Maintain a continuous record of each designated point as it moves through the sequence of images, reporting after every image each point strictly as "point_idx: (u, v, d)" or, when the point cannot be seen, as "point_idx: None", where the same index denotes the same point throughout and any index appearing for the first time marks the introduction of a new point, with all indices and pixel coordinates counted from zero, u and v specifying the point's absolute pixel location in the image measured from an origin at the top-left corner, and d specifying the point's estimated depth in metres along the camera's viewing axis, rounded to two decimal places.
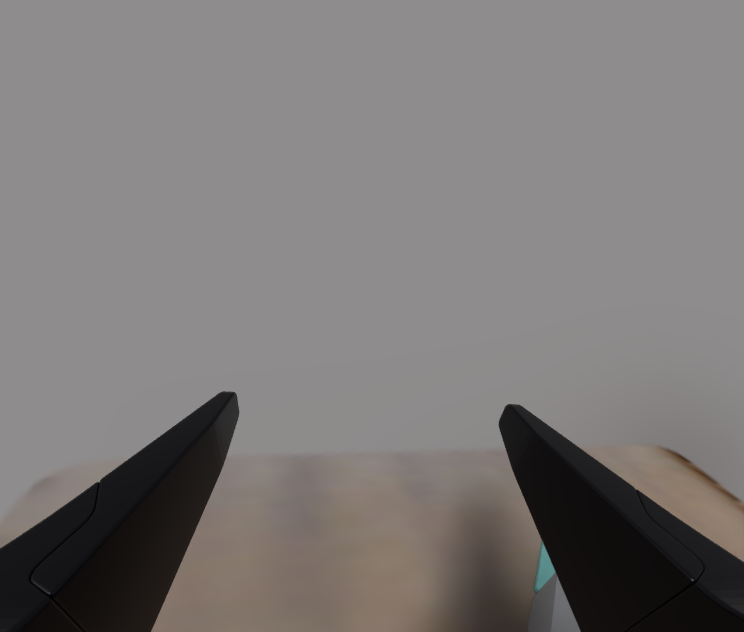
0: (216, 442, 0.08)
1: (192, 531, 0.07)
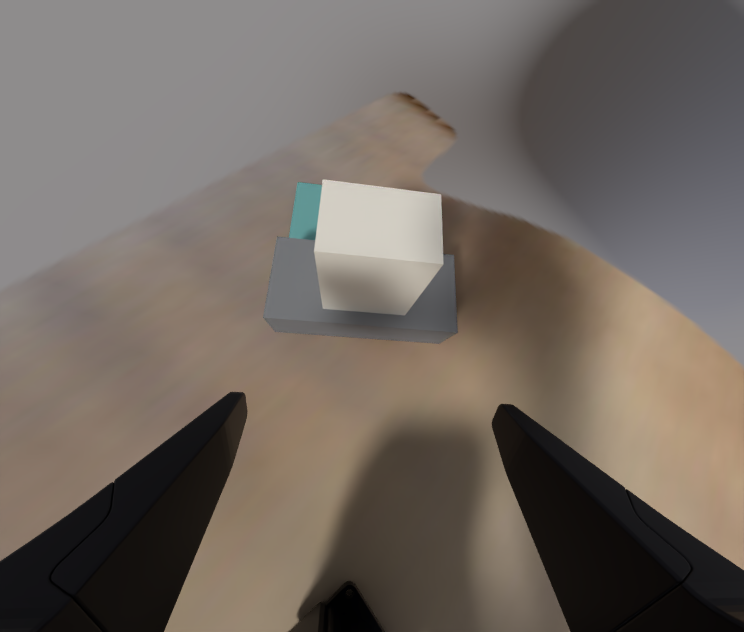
0: (226, 442, 0.08)
1: (203, 531, 0.07)
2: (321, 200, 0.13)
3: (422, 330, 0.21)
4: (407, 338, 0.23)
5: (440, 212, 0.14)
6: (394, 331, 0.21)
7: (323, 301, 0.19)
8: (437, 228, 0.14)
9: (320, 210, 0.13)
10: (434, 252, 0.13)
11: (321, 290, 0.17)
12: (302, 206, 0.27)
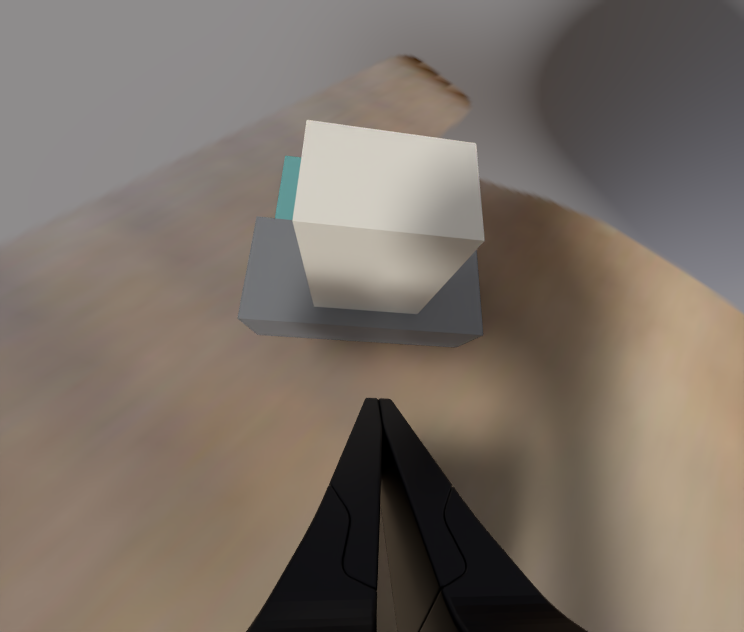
0: None
1: None
2: (304, 148, 0.09)
3: (439, 333, 0.17)
4: (418, 341, 0.19)
5: (476, 168, 0.10)
6: (403, 334, 0.17)
7: (313, 297, 0.15)
8: (473, 190, 0.10)
9: (302, 162, 0.09)
10: (470, 223, 0.09)
11: (309, 282, 0.13)
12: (291, 184, 0.22)
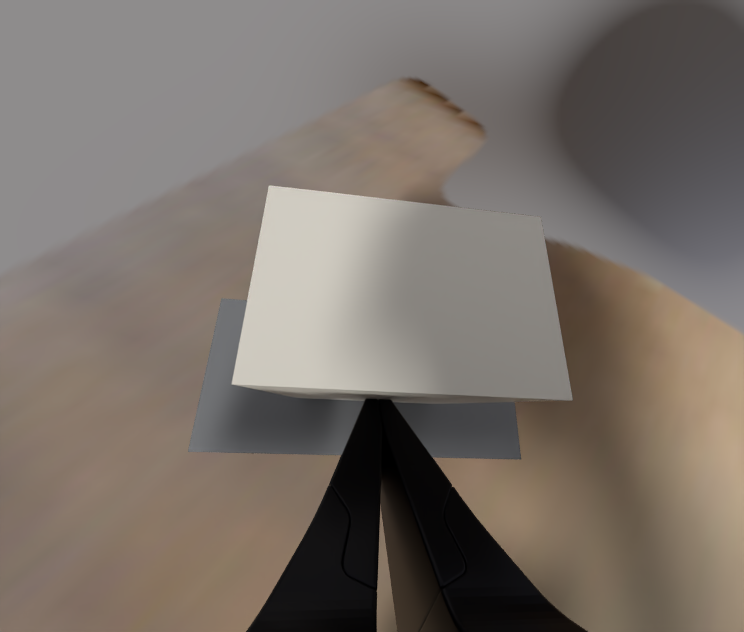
0: None
1: None
2: (262, 237, 0.05)
3: (463, 457, 0.12)
4: None
5: (545, 260, 0.06)
6: None
7: None
8: (544, 301, 0.06)
9: (258, 264, 0.05)
10: (546, 367, 0.05)
11: None
12: None
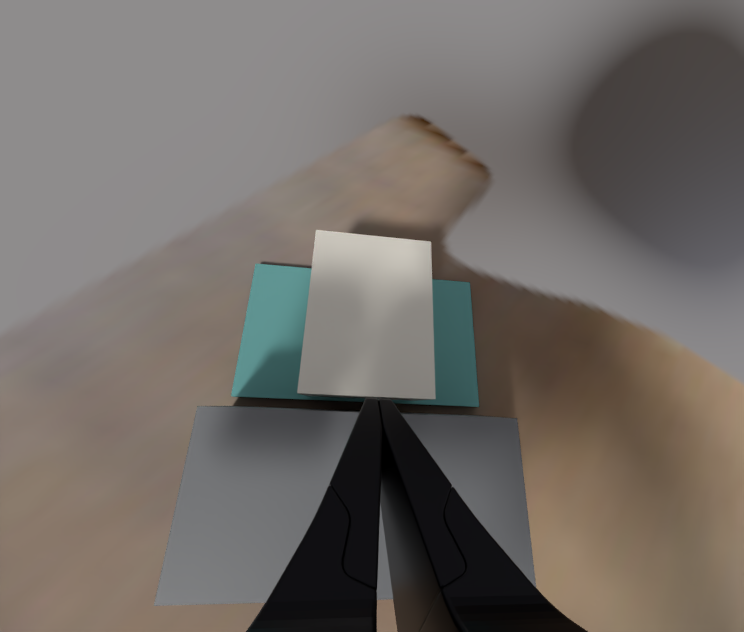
0: None
1: None
2: None
3: None
4: None
5: None
6: None
7: (304, 356, 0.12)
8: None
9: None
10: None
11: (308, 315, 0.13)
12: (261, 305, 0.17)
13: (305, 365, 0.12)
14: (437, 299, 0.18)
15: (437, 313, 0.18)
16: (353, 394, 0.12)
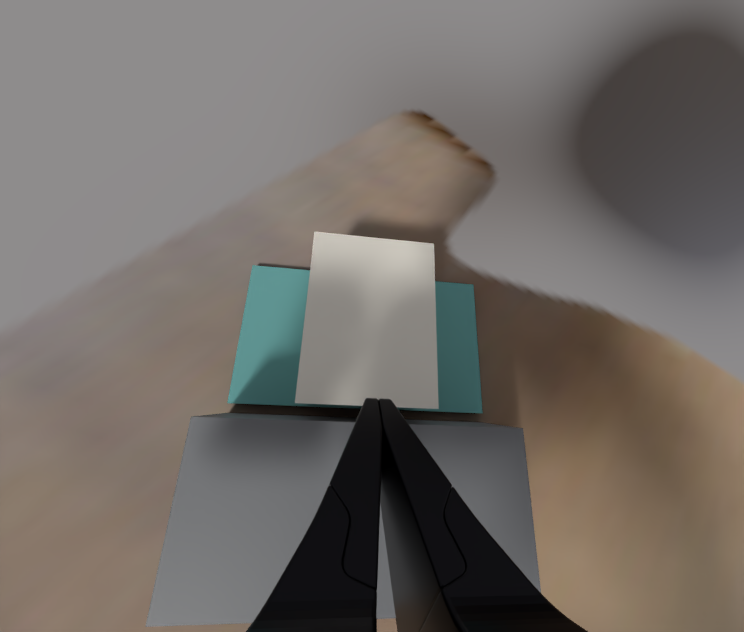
0: None
1: None
2: None
3: None
4: None
5: None
6: None
7: (302, 365, 0.12)
8: None
9: None
10: None
11: (306, 321, 0.12)
12: (258, 309, 0.16)
13: (303, 374, 0.12)
14: (439, 302, 0.18)
15: (440, 317, 0.18)
16: (353, 404, 0.12)
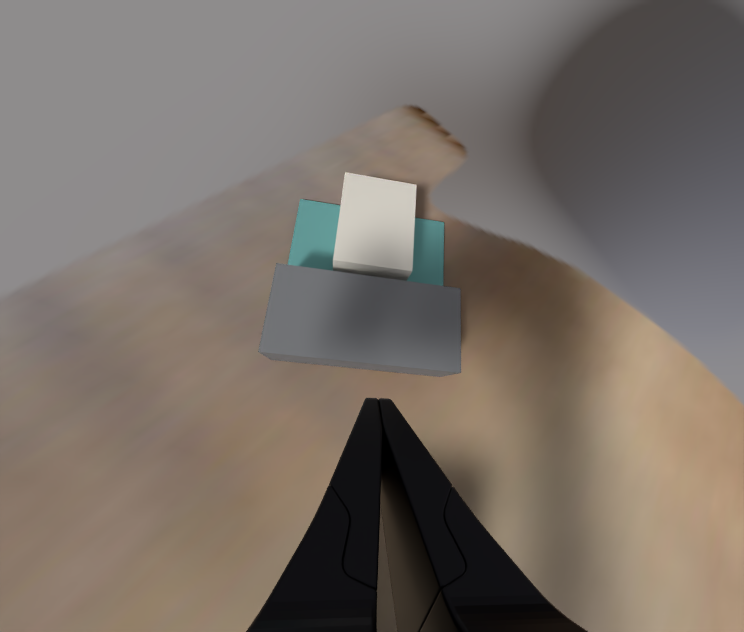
0: None
1: None
2: None
3: (425, 369, 0.20)
4: (408, 372, 0.23)
5: None
6: (395, 367, 0.21)
7: (337, 241, 0.21)
8: None
9: None
10: None
11: (339, 220, 0.22)
12: (304, 225, 0.26)
13: (337, 246, 0.21)
14: (420, 231, 0.27)
15: (420, 240, 0.27)
16: (364, 264, 0.21)
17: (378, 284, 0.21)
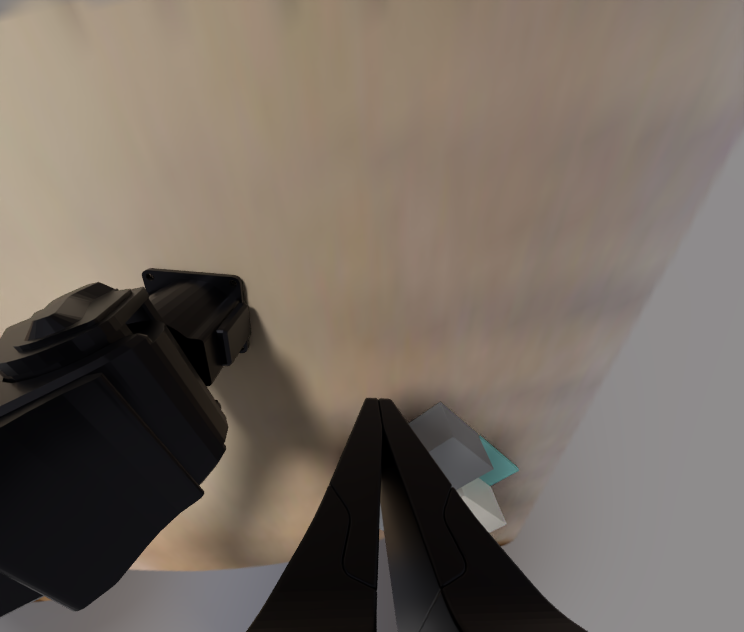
0: None
1: None
2: (494, 497, 0.33)
3: None
4: None
5: None
6: None
7: (472, 502, 0.28)
8: None
9: (497, 502, 0.32)
10: None
11: (482, 508, 0.28)
12: (501, 463, 0.32)
13: (469, 501, 0.28)
14: None
15: None
16: None
17: None
